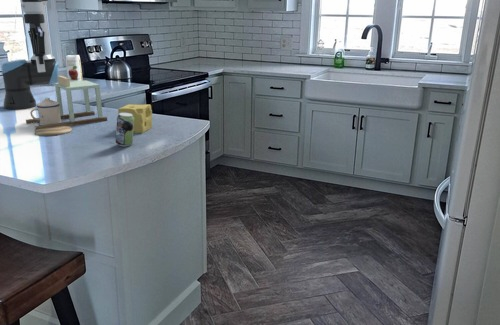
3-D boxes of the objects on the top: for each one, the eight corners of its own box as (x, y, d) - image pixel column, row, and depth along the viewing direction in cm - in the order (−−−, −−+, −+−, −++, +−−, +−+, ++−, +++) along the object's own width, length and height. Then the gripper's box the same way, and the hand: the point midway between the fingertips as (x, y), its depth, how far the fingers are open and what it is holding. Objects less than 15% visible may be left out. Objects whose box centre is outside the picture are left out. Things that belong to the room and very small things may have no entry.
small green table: (58, 115, 218) (53, 75, 212) (89, 111, 226) (84, 72, 220) (71, 122, 204) (65, 79, 199) (102, 117, 212) (98, 76, 207)
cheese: (143, 133, 191) (141, 109, 188) (118, 132, 193) (116, 108, 190) (153, 127, 201) (151, 104, 198) (129, 126, 203) (127, 103, 200)
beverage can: (117, 143, 177) (114, 111, 174) (137, 142, 178) (135, 111, 174) (114, 148, 171) (111, 115, 168) (135, 147, 172) (132, 114, 168)
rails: (26, 123, 210) (25, 119, 210) (93, 114, 227) (92, 111, 227) (36, 130, 197) (36, 127, 196) (107, 120, 214) (106, 117, 213)
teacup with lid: (62, 121, 213) (58, 95, 210) (61, 125, 205) (58, 98, 201) (32, 123, 209) (29, 97, 206) (31, 128, 201) (27, 100, 197)
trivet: (31, 131, 196) (30, 129, 196) (65, 126, 204) (65, 124, 204) (40, 137, 186) (40, 135, 185) (76, 132, 194) (76, 130, 193)
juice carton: (70, 83, 322) (67, 54, 316) (83, 83, 323) (80, 54, 317) (67, 85, 315) (64, 55, 309) (81, 84, 316) (77, 55, 310)
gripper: (18, 13, 196) (27, 71, 203) (28, 13, 186) (37, 74, 193) (37, 13, 200) (45, 69, 208) (48, 13, 191) (56, 72, 198)
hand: (41, 71), depth 200 cm, fingers closed
